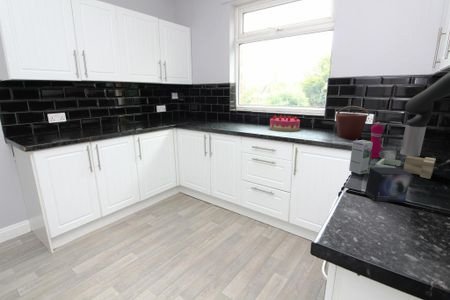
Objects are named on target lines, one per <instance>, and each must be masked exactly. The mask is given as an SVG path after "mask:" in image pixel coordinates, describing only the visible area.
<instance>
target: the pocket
mask: <svg viewBox="0 0 450 300" xmlns="http://www.w3.org/2000/svg"><path fill="white" fill-rule="evenodd" d="M401 164H402V161H401V160H398V159H393V158H386V157H382V158H381V159H380V160H379V161H377V162H376V163H375V166H374V167H389V168H396V167H395V165H396V166H397V167H400V166H401Z"/></svg>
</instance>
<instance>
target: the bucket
mask: <svg viewBox="0 0 450 300" xmlns="http://www.w3.org/2000/svg"><path fill="white" fill-rule="evenodd" d="M348 108H357V109H360V110H362V111H363V112H364V113H367V114H364V113H351V112H350V113H348V112H342V111H343V110H345V109H348ZM370 114H371V113H370V112H369V111H368V110H367V109H366V108H364V107H361V106H357V105H349V106H344V107H342V108H339V110H338V111H337V112H336V113H335V124H336V125H335V126H336V136H337V137H338V138H340V139H347V140H359V139H360V138H361V135H362V133H363V131H364V127H365V126H366V123H367V120H368V117H369V116H370Z"/></svg>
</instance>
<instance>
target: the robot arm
mask: <svg viewBox="0 0 450 300" xmlns="http://www.w3.org/2000/svg"><path fill="white" fill-rule="evenodd" d="M448 96H450V71H449V72H447V73H445V74H444V75H443V76H442V77H440V78H439V79H438V80H436V81H435V82H434V83H432V84H431V85H430V86H428V87H427V88H426V89H424V90H423V91H421V92H420V93H418V94H416V95H415V96H413V97H411V98H410V99H408V101H407V102H406V103H405V106H404V110H405V111H406V113H407V114H411V115H415V116H414V117H413V118H411V119H407V120H406V123H405V126H404V127H405V129H404V133H403V138H402V142H401V148H400V152H399V154H400V155H403V156H405V157H406V156H412V157H419V158H420V156H421V151H422V147H423V143H424V140H425V139H424V138H425V135H426V130H427V129H426V128H427V126H428V125H427V124H429V122H430V120H431V116H432V112H433V109H434V101H436V100H439V99H442V98H446V97H448ZM449 168H450V158H449V159H448V160H446V161H444V162H443V163H441V164H438V165H437V167H436V169H438V170H439V171H440V172H442V171H444V170H446V169H449Z"/></svg>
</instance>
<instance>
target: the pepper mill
mask: <svg viewBox="0 0 450 300" xmlns="http://www.w3.org/2000/svg"><path fill="white" fill-rule="evenodd" d="M384 130H385V128H384V126H383V124H382V125H381V122H380V121H377V122H376V123H375V124H373V125H372V126H371V127H370V131H371V134H370V136H371V139H370V140H369V141H370V142H373V145H372V152H371V158H372V159H378V158H380V153H381V152H382V145H381V137H382V136H383V135H382V133H383V132H384ZM371 158H370V159H371Z"/></svg>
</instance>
